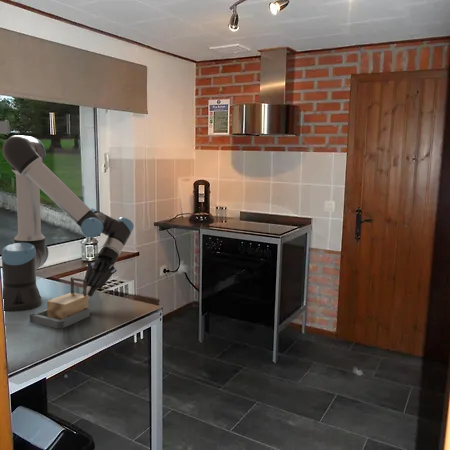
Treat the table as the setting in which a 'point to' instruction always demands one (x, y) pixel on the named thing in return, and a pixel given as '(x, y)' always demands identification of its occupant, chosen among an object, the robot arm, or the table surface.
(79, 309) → the cart
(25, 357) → the table surface
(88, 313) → the frame
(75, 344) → the table surface
